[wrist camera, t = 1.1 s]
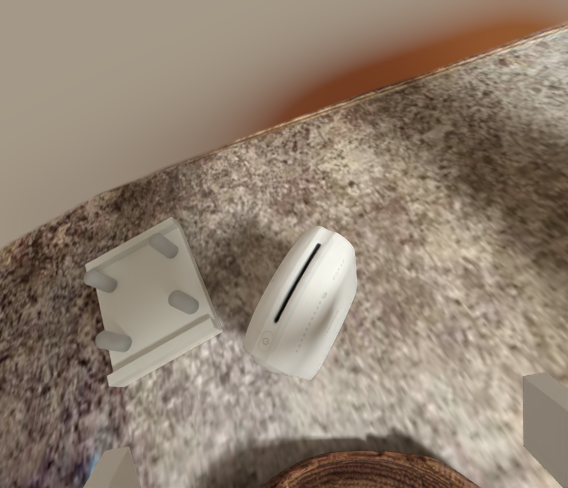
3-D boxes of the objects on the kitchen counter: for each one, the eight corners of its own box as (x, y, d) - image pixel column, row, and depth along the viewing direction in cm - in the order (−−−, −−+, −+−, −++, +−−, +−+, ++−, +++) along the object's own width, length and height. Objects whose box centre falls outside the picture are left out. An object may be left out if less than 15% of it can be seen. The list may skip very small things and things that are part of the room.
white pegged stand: (223, 331, 32) (204, 322, 28) (124, 386, 32) (93, 385, 28) (181, 225, 39) (161, 207, 35) (99, 271, 38) (70, 257, 35)
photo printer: (313, 389, 28) (281, 385, 17) (271, 364, 30) (218, 345, 19) (363, 286, 31) (364, 226, 20) (323, 268, 33) (303, 203, 22)
